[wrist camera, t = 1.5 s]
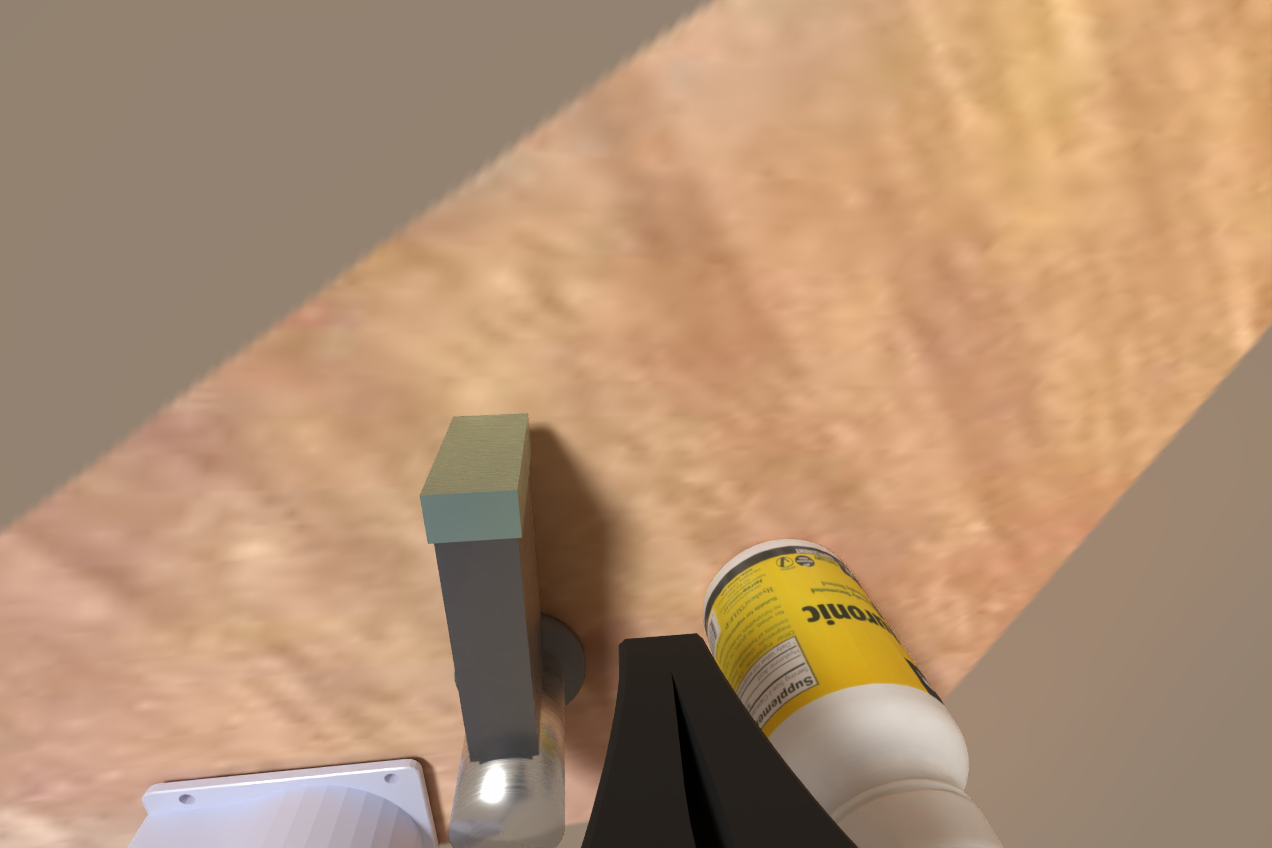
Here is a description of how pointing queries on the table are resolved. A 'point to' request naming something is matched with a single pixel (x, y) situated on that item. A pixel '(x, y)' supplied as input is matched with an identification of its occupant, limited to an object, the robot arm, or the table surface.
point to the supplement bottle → (841, 698)
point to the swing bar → (497, 637)
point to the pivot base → (563, 653)
